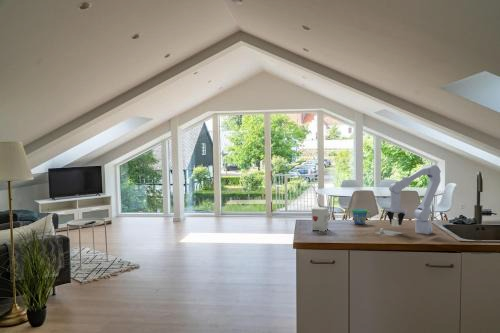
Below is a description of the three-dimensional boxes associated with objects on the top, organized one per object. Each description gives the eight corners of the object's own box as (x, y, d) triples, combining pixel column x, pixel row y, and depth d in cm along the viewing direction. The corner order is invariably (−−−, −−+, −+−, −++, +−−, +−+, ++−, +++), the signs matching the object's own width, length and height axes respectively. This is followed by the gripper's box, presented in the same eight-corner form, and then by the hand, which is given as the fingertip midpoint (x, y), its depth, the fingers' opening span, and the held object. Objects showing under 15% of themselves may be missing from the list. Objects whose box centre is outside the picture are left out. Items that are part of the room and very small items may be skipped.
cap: (401, 225, 265) (401, 219, 265) (397, 226, 262) (397, 220, 262) (394, 224, 269) (394, 218, 269) (390, 225, 266) (390, 219, 265)
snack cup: (372, 223, 309) (372, 209, 309) (368, 225, 300) (368, 211, 300) (351, 221, 317) (351, 208, 317) (346, 224, 308) (346, 210, 308)
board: (403, 235, 265) (403, 228, 265) (393, 238, 257) (393, 231, 257) (384, 232, 275) (384, 225, 275) (374, 235, 266) (373, 228, 266)
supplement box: (311, 230, 286) (311, 208, 285) (315, 228, 294) (315, 206, 293) (324, 231, 281) (324, 209, 281) (328, 229, 289) (328, 207, 289)
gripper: (381, 202, 268) (382, 224, 268) (403, 204, 257) (403, 226, 257) (387, 201, 272) (387, 222, 273) (409, 203, 262) (409, 225, 262)
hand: (395, 224), depth 265 cm, fingers closed on cap, 5 cm apart
